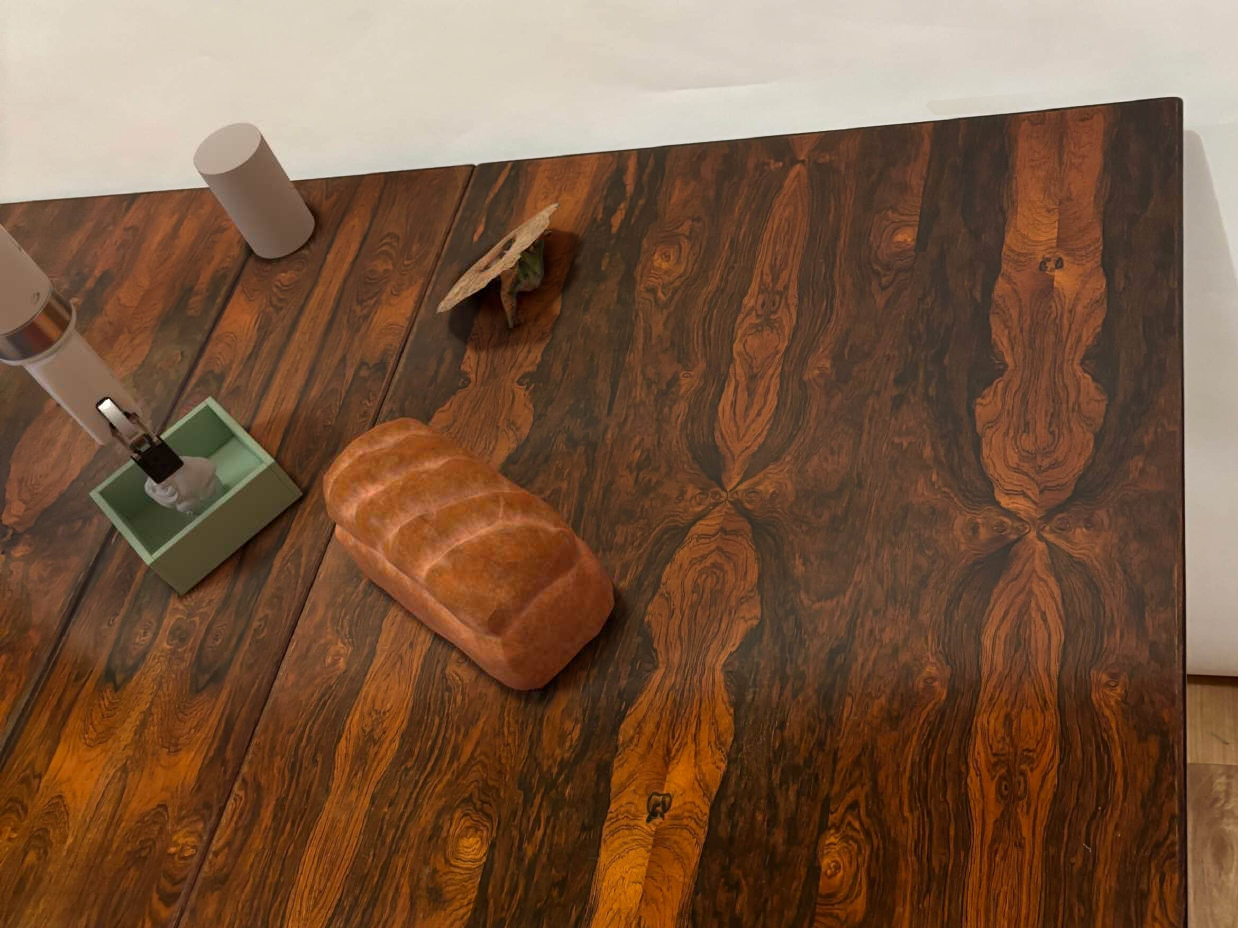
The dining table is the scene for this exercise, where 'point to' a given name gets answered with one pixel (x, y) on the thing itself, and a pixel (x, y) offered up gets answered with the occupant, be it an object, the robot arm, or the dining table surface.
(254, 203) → the grey tilted cylinder
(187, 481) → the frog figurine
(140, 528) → the tub
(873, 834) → the dining table surface
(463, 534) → the bread
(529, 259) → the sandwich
